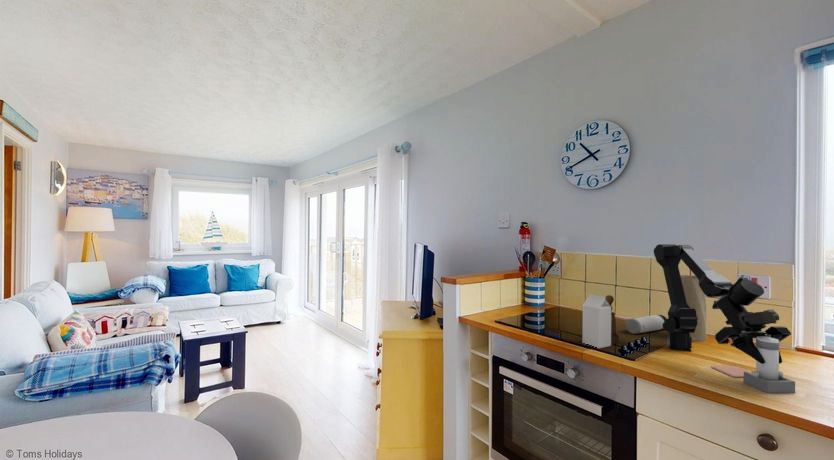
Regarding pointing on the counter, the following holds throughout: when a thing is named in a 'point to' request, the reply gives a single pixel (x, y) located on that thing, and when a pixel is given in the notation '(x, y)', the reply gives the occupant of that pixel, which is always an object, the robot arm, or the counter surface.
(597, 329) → the milk carton
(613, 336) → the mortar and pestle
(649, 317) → the travel mug
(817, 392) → the counter surface
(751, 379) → the cartridge housing
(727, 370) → the mat
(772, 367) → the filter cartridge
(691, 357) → the counter surface
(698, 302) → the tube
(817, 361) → the counter surface
